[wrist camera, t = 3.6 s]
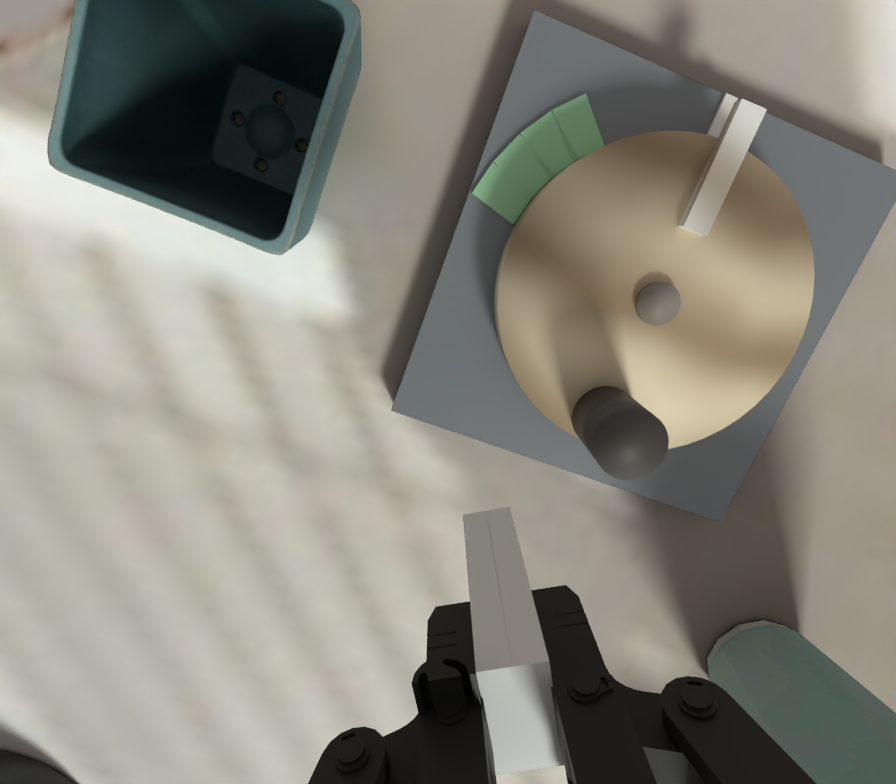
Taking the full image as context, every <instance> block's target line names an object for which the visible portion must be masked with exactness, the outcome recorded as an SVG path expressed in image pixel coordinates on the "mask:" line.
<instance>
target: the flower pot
mask: <svg viewBox="0 0 896 784" xmlns="http://www.w3.org/2000/svg"><path fill="white" fill-rule="evenodd" d="M360 18H361V16H360V11H359V9H358V7H357V6H356V5H355V4H354V3H353V2H352V1H351V0H75V5H74V11H73V17H72V23H71V26H70V33H69V37H68V43H67V49H66V53H65V59H64V65H63V70H62V75H61V81H60V87H59V91H58V96H57V102H56V105H55V111H54V116H53V120H52V124H51V130H50V132H49V137H48V158H49V163H50V165H51V166H52V167H54V168H55V169H56V170H58V171H60V172H62V173H64V174H67V175H69V176H72V177H74V178H77V179H79V180H83V181H86V182H88V183H91V184H93V185H96V186H99V187H102V188H104V189H107V190H110V191H112V192H115V193H117V194H120V195H124V196H126V197H129V198H131V199H134V200H136V201H139V202H142V203H145V204H147V205H149V206H152V207H155V208H158V209H160V210H162V211H164V212H167V213H170V214H173V215H175V216H178V217H180V218H183V219H186V220H189V221H191V222H194V223H196V224H198V225H201V226H204V227H206V228H209V229H211V230H214V231H216V232H219V233H221V234H224V235H226V236H229V237H231V238H234V239H236V240H238V241H241V242H244V243H246V244H248V245H250V246H252V247H255V248H257V249H260V250H262V251H265V252H268V253H271V254H276V255H282V254H284V253H285V252H287V251H288V250H289V249H291V248H292V247H293V246H295V245H296V244H297V243H299V242H300V241H301V240H302V239H303V238H305V236H306V235H307V234H308V232H309V231H310V228H311V225H312V223H313V219H314V216H315V213H316V210H317V206H318V203H319V200H320V197H321V194H322V190H323V187H324V184H325V181H326V178H327V174H328V171H329V168H330V165H331V162H332V158H333V155H334V152H335V149H336V146H337V143H338V140H339V136H340V133H341V130H342V127H343V124H344V121H345V118H346V114H347V111H348V108H349V105H350V102H351V99H352V96H353V93H354V90H355V87H356V84H357V81H358V78H359V74H360V70H361V24H360ZM277 93H283V94H284V95H285V97H286V101H285V103H284V104H282V105H279V104H277V103H276V101H275V96H276V94H277ZM237 113H240V114H242V115H243V117H244V122H243V124H241V125H237V124H235V122H234V119H233V118H234V115H235V114H237ZM300 140H304V141H306V143H307V148H306V150H304V151H300V150H299V149H298V148H297V143H298V141H300ZM259 160H263V161H264V162H265V163H266V169H265V170H263V171H260V170H258V169H257V167H256V163H257V161H259Z"/></svg>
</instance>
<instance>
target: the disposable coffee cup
mask: <svg viewBox="0 0 896 784" xmlns="http://www.w3.org/2000/svg"><path fill="white" fill-rule="evenodd" d="M707 663H708V674H709V681H711V682H713V683H716V684H717V685H718V686H720V687H721V688H722V689H724V690H725V691H726V692H727V693H728V694H729V695H730V696H731V697H732V698H733V699H734V700H735V701H736V702H737V703H738V704H739V705H740V706H741V707H742V708H743V709H744V710H745V711H746V712H747V713H748V714H749V715H750V716H751V717H752V718H753V719H754V720H755V721H756V722H757V723H758V724H759V725H760V726H761V727H762V728H763V729H764V730H765V732H766V733H767V734H768V735H769V736H770V737H771V738H772V739H773V740H774V741H775V742H776V743H777V744H778V745H779V746H780V747H781V748H782V749H783V750H784V751H785V752H786V753H787V754H788V755H789V756H790V757H791V758H792V759H793V760H794V761H795V762H796V763H797V764H798V765H799V766H800V767H801V768H802V769H803V770H804V771H805V772H806V773H807V774H808V775H809V776H810V777H811V778H812V780H813V781H814V782H815V783H816V784H896V713H895V712H894V711H893V710H891V709H890V708H889V707H888V706H886V705H885V704H884V703H883V702H882V701H880V700H879V699H878V698H877V697H876V696H874V695H873V694H872V693H871V692H870V691H868V690H867V689H866V688H865V687H864V686H862V685H861V684H860V683H859V682H858V681H856V680H855V679H854V678H853V677H852V676H850V675H849V674H848V673H847V672H845V671H844V670H843V669H842V668H841V667H839V666H838V665H837V664H836V663H835V662H833V661H832V660H831V659H830V658H829V657H827V656H826V655H825V654H824V653H823V652H821V651H820V650H819V649H818V648H817V647H815V646H814V645H813V644H812V643H811V642H809V641H808V640H807V639H806V638H804V637H803V636H802V635H801V634H800V633H798V632H797V631H795V630H791V629H789V628H788V627H786V626H784V625H780V624H776V623H773V622H769V621H765V620H761V621H756V622H750V623H745V624H740V625H737V626H736V627H735V628H733V629H732V630H730V631H729V632H727V633H726V634H724V635H723V636H721V637H720V638H718V640H717V641H716V643H715V645H714V647H713V649H712V650H711V652H710V654H709V656H708V658H707Z"/></svg>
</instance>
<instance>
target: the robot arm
mask: <svg viewBox="0 0 896 784" xmlns="http://www.w3.org/2000/svg"><path fill="white" fill-rule="evenodd" d="M463 521H464V533H465V546H466V558H467V570H468V582H469V595H470V602H464V603H457V604H451V605H444V606H438V607H435V609H434V611H433V613H432V615H431V616H430V618H429V620H428V631H427V637H428V639H427V661H426V662H425V663H424V664H422V665H421V666H420V668H419V669H418V670H417V671H416V672H415V674H414V677H413V681H412V687H413V691H414V695H415V699H416V704H417V708H418V712H419V713H418V715H417V716H416V717H415V718H414V719H413V720H412V721H411V722H410V723H409V724H407V725H406V726H404V727H402V728H401V729H399V730H397V731H395V732H392V733H390V734H388V735H386V736H384V737H382V736H381V735H380V734H379V733H378V732H377V731H376V730H374V729H371V728H367V727H359V728H352V729H350V730H347V731H345V732H343V733H341V734H339V735H338V736H337V737H336V738H335V739H333V740H332V741H331V742H330V743H329V745H328V746H327V747H326V749H325V750H324V752H323V753H322V755H321V758H320V760H319V762H318V764H317V766H316V768H315V770H314V772H313V774H312V777H311V779H310V781H309V783H308V784H497V783H496V775H498V774H505V773H512V772H519V771H526V770H533V769H540V768H546V767H553V766H560V765H565V769H566V775H567V782H568V784H816V783H815V782H814V781H813V780H812V778H811V777H810V776H809V775H808V774H807V773H806V772H805V771H804V770H803V769H802V768H801V767H800V766H799V765H798V764H797V763H796V762H795V761H794V760H793V759H792V758H791V757H790V756H789V755H788V754H787V753H786V752H785V751H784V750H783V749H782V748H781V747H780V746H779V745H778V744H777V743H776V742H775V741H774V740H773V739H772V738H771V737H770V736H769V735H768V734H767V733H766V732H765V730H764V729H763V728H762V727H761V726H760V725H759V724H758V723H757V722H756V721H755V720H754V719H753V718H752V717H751V716H750V715H749V714H748V713H747V712H746V711H745V710H744V709H743V708H742V707H741V706H740V705H739V704H738V703H737V702H736V701H735V700H734V699H733V698H732V697H731V696H730V695H729V694H728V693H727V692H726V691H725V690H724V689H722V688H721V687H720V686H718V685H717V684H716V683H713V682H711V681H708V680H706V679H703V678H698V677H689V676H687V677H682V678H676V679H674V680H673V681H671V682H669V683H668V684H666V686H665V688H664V689H663V691H662V693H661V694H658V693H650V692H643V691H638V690H634V689H631V688H629V687H626V686H624V685H622V684H621V683H619V682H618V681H616V680H615V679H614V678H613V676H612V675H610V674H609V672H608V670H607V668H606V667H605V664H604V661H603V659H602V656H601V654H600V651H599V648H598V646H597V643H596V641H595V638H594V635H593V633H592V630H591V628H590V625H589V623H588V620H587V617H586V615H585V613H584V609H583V607H582V604H581V602H580V599H579V597H578V595H576V594H575V593H574V592H573V591H572V590H571V589H570V588H569V587H567V586H566V585H564V586H557V587H551V588H545V589H538V590H532V591H531V588H530V584H529V580H528V577H527V573H526V569H525V565H524V561H523V557H522V553H521V549H520V545H519V542H518V538H517V534H516V530H515V526H514V522H513V518H512V514H511V510H510V507H507V508H501V509H495V510H489V511H483V512H477V513H470V514H464V515H463ZM0 784H73V783H71V782H70V781H69V780H68V779H66V778H65V777H63V776H62V775H61V774H59V773H57V772H56V771H54V770H52V769H51V768H49V767H47V766H45V765H43V764H41V763H38V762H36V761H34V760H31V759H29V758H26V757H23V756H20V755H16V754H12V753H8V752H3V751H0Z"/></svg>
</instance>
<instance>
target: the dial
mask: <svg viewBox="0 0 896 784" xmlns="http://www.w3.org/2000/svg"><path fill="white" fill-rule="evenodd" d="M766 110H767V109H765V108H763V107H761V106H758V105H756V104H754V103H752V102H749V101H747V100H745V99H743V98H742V99H740V100H738V101H735V102H734V105H733V107H732V109H731V111H730V113H729V116H728V118H727V120H726V122H725V124H724V126H723V129H722V131H721V133H720V135H719V137H718V138H717V137H714V136H711V135H706V134H700V133H695V132H689V131H659V132H650V133H643V134H639V135H635V136H631V137H627V138H623V139H620V140H618V141H615V142H613V143H610V144H608V145H605V146H603V147H601V148H599V149H597V150H595V151H594V152H592V153H590V154H588V155H586V156H585V157H583V158H581V159H579V160H578V161H576V162H574V163H572V164H570V165H569V166H568V167H566V168H565V169H564V170H562V171H561V172H560V173H558V174H557V175H556V176H554V177H553V178H552V179H551V180H550V181H549V182H548V183H547V184H546V185H545V186H544V187H543V188H542V189H541V190H540V191H538V192H537V194H536V195H535V196H534V197H533V199H532V200H531V201H530V202H529V204H528V205H527V206H526V207H525V209H524V210H523V212H522V213H521V215H520V217H519V218H518V220H517V221H516V223H515V225H514V226H513V228H512V230H511V232H510V235H509V237H508V239H507V241H506V243H505V246H504V249H503V252H502V255H501V258H500V261H499V265H498V269H497V275H496V281H495V288H494V316H495V326H496V330H497V335H498V340H499V344H500V346H501V349H502V352H503V355H504V357H505V360H506V362H507V364H508V366H509V368H510V370H511V372H512V374H513V375H514V377H515V379H516V381H517V382H518V384H519V386H520V387H521V388H522V390H523V391H524V393H525V394H526V395H527V397H528V398H529V400H530V401H531V402H532V403H533V404H534V405H535V406H536V407H537V409H538V410H539V411H540V412H541V413H542V414H543V415H544V416H545V417H547V418H548V419H549V420H550V421H552V422H553V423H554V424H556V425H557V426H558V427H560V428H561V429H563V430H565V431H566V432H568V433H570V434H571V435H573V436H575V437H577V438H579V439H580V440H581V441H582V443H583V444H584V445H585V447H586V448H587V449H588V451H589V452H590V453H591V455H592V456H593V457H594V459H595V460H596V462H597V463H598V464H599V466H600V467H601V468H602V469H603V470H604V471H605V472H606V473H607V474H609V475H610V476H612V477H614V478H617V479H621V480H635V479H639V478H642V477H645V476H647V475H649V474H650V473H652V472H653V471H654V470H656V469H657V468H658V467H659V466H660V464H661V463H662V462H663V460H664V458H665V456H666V454H667V451H668V449H671V448H675V447H679V446H684V445H687V444H690V443H693V442H695V441H698V440H701V439H704V438H706V437H708V436H710V435H712V434H714V433H716V432H718V431H720V430H722V429H724V428H725V427H727V426H728V425H730V424H731V423H733V422H735V421H736V420H738V419H739V418H740V417H742V416H743V415H744V414H745V413H747V412H748V411H749V410H750V409H752V408H753V407H754V406H755V405H756V404H757V403H758V402H759V401H760V400H761V399H762V398H763V397H764V396H765V395H766V394H767V393H768V392H769V391H770V390H771V388H772V387H773V386H774V385H775V383H776V382H777V381H778V379H779V378H780V377H781V376H782V374H783V373H784V371H785V370H786V368H787V366H788V365H789V363H790V361H791V360H792V358H793V356H794V354H795V352H796V350H797V348H798V346H799V344H800V341H801V339H802V337H803V334H804V331H805V328H806V325H807V322H808V319H809V315H810V310H811V305H812V300H813V292H814V278H815V273H814V256H813V250H812V245H811V240H810V235H809V232H808V229H807V226H806V223H805V220H804V217H803V214H802V213H801V211H800V209H799V207H798V205H797V203H796V201H795V199H794V197H793V196H792V194H791V193H790V191H789V190H788V189H787V187H786V186H785V184H784V183H783V182H782V180H781V179H780V178H779V177H778V176H777V175H776V174H775V173H774V172H773V171H772V170H771V169H770V168H769V167H768V166H767V165H766V164H765V163H763V162H762V161H761V160H759V159H758V158H757V157H755V156H754V155H753V154H751V153H750V152H748V149H749V147H750V144H751V142H752V140H753V138H754V136H755V134H756V132H757V130H758V127H759V125H760V123H761V121H762V119H763V117H764V115H765V113H766Z"/></svg>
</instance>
